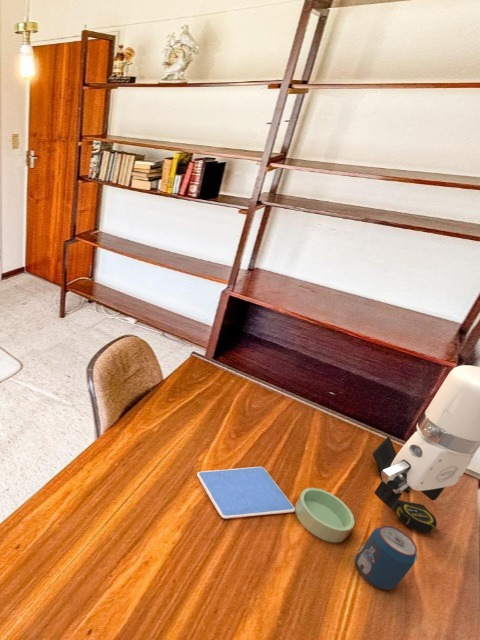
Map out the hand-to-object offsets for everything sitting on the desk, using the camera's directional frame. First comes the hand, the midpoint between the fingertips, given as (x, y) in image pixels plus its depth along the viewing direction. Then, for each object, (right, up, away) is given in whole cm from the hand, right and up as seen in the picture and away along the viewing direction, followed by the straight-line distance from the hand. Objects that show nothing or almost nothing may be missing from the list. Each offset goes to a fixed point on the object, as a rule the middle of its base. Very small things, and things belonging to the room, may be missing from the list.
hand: (404, 496), depth 76 cm
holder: (-2, -16, +18) cm, 24 cm away
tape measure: (+20, -16, +19) cm, 32 cm away
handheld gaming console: (+28, -10, +32) cm, 43 cm away
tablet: (-18, -12, +24) cm, 32 cm away
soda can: (+1, -21, +8) cm, 23 cm away
